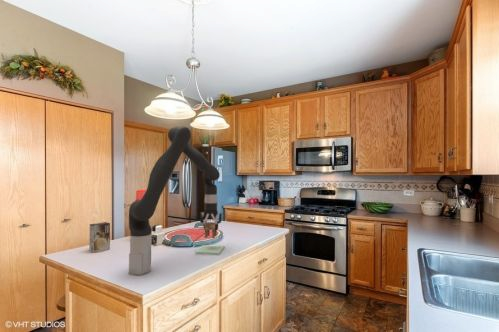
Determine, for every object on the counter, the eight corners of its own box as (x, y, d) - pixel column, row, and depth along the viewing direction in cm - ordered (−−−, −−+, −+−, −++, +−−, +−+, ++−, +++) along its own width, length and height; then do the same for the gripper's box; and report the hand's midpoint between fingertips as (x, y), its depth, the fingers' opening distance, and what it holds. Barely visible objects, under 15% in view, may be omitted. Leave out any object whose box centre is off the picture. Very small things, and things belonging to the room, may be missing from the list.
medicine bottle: (148, 244, 162) (149, 225, 163) (157, 241, 169) (157, 223, 169) (156, 245, 159) (156, 227, 160) (165, 243, 165) (165, 225, 166)
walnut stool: (216, 235, 152) (217, 222, 152) (214, 238, 146) (214, 224, 146) (207, 235, 153) (207, 222, 153) (204, 237, 147) (204, 224, 147)
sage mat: (219, 254, 142) (219, 252, 142) (195, 253, 143) (195, 251, 143) (224, 247, 155) (224, 245, 155) (202, 246, 157) (202, 245, 157)
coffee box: (105, 247, 155) (105, 221, 155) (110, 249, 151) (110, 222, 152) (88, 251, 148) (89, 224, 148) (93, 253, 144) (94, 225, 144)
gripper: (224, 201, 153) (223, 229, 153) (201, 201, 155) (201, 228, 154) (221, 202, 146) (221, 231, 145) (197, 202, 147) (197, 231, 147)
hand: (210, 229), depth 150 cm, fingers closed on walnut stool, 6 cm apart
